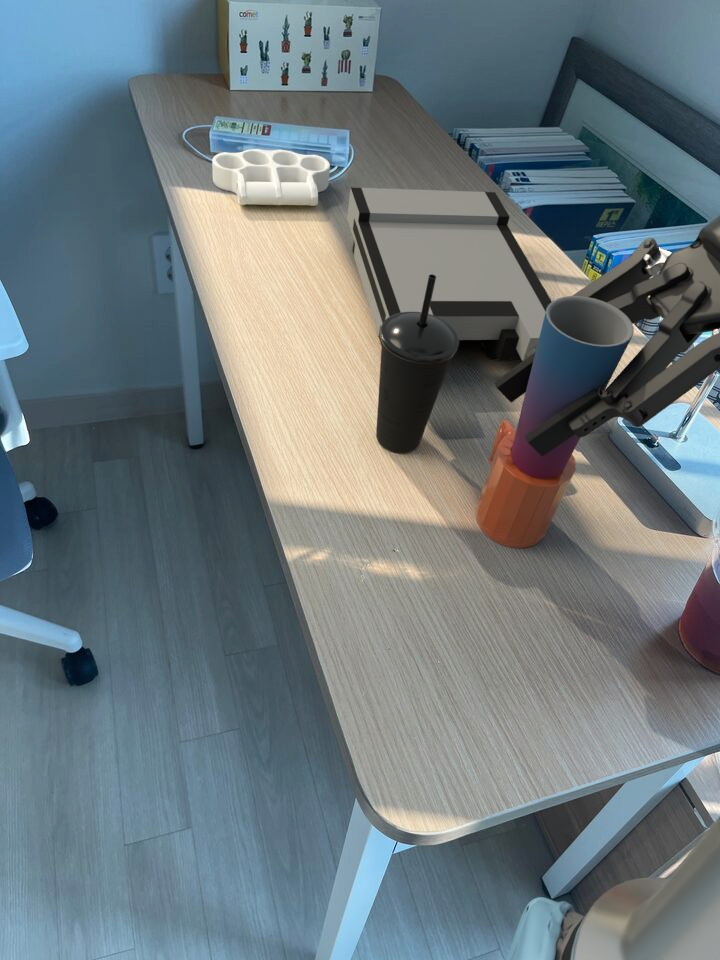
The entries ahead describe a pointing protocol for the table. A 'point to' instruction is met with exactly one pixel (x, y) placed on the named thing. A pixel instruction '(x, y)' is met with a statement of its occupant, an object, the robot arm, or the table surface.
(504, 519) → the mug
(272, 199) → the knuckle duster
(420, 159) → the table surface
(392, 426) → the drinking cup
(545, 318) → the cup
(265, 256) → the table surface
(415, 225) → the game console
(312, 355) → the table surface
